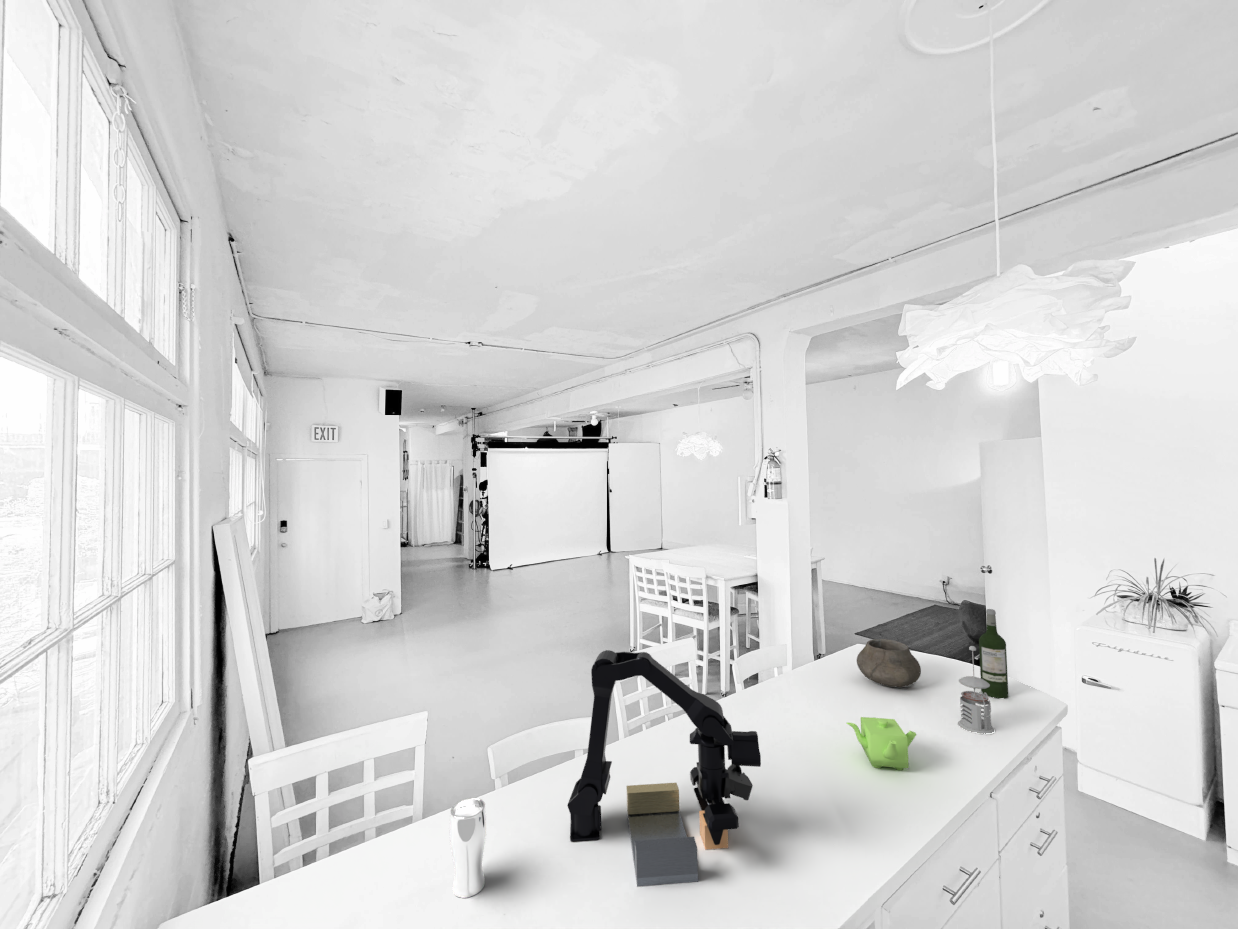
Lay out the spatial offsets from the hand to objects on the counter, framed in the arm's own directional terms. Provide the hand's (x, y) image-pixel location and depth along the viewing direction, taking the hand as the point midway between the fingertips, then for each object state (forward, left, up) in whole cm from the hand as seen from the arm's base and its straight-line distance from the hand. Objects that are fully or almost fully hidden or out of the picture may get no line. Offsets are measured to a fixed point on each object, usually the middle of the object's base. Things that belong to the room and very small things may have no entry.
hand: (713, 835), depth 112 cm
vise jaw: (-12, +9, +1) cm, 15 cm away
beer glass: (-51, -8, -1) cm, 51 cm away
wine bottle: (+119, +64, -1) cm, 135 cm away
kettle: (+54, +26, -1) cm, 60 cm away
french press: (+94, +41, -1) cm, 103 cm away
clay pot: (+88, +78, -1) cm, 118 cm away
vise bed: (-12, 0, -1) cm, 12 cm away
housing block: (0, 0, -1) cm, 1 cm away
